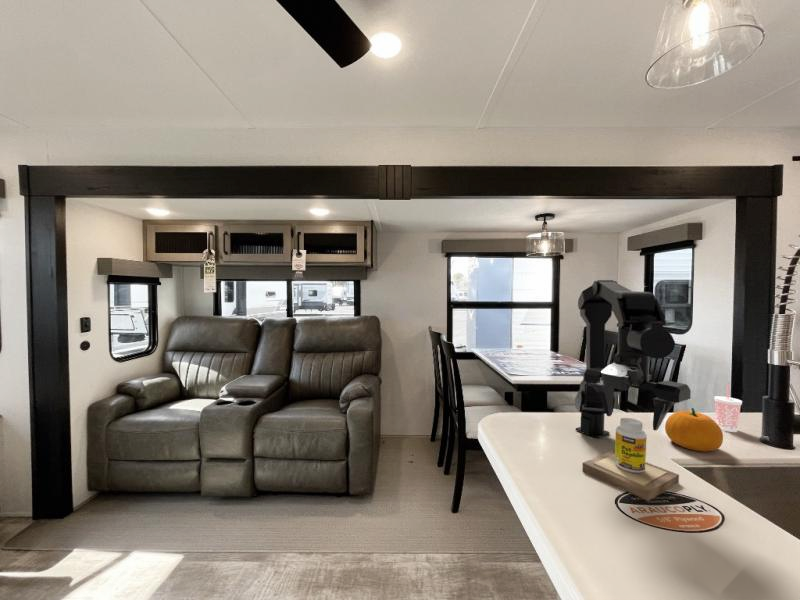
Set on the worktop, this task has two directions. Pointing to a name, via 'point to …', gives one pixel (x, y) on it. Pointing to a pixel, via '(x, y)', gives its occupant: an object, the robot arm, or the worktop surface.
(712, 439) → the fruit
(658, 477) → the brown picture frame
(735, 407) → the beverage cup
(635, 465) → the supplement bottle
